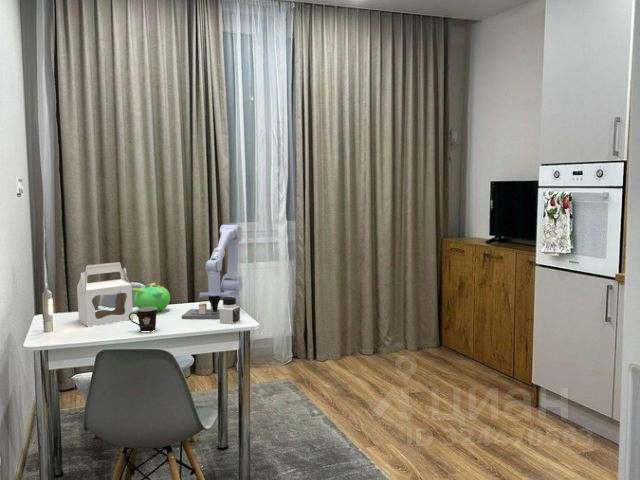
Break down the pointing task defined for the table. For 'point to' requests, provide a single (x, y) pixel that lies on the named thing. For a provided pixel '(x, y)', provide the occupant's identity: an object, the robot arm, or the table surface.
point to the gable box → (104, 288)
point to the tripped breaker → (202, 309)
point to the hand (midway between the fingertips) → (215, 311)
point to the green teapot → (151, 297)
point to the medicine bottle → (229, 311)
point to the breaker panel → (195, 314)
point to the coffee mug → (146, 318)
